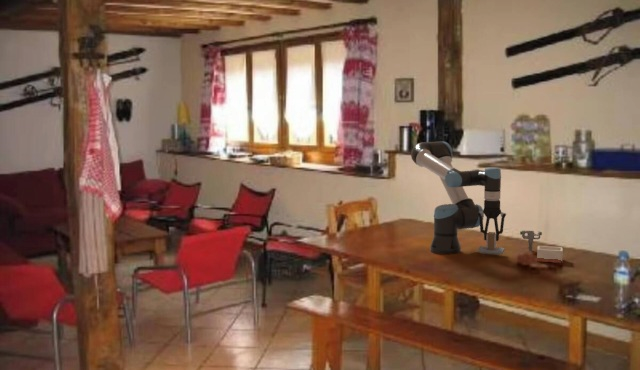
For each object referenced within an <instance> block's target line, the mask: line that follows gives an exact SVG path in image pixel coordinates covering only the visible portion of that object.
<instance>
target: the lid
mask: <svg viewBox="0 0 640 370" xmlns="http://www.w3.org/2000/svg"><path fill="white" fill-rule="evenodd" d="M487 233H488V248H487V247H486V246H482V245H481V246H479V248H478V250H477V253H480V254H487V255H499V256H500V255H503V254H504V252H505V247H497V246H496V248H494V235H495V234H496V231H495V232H494V231H488V232H487Z"/></svg>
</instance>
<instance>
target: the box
mask: <svg viewBox="0 0 640 370" xmlns="http://www.w3.org/2000/svg"><path fill="white" fill-rule="evenodd" d="M536 251H537V252H536V259H537V258H544V259H558V260H561V261H562V262H563V251H564V250H563V247H562V246H561V247H560V246H549V245H548V246H547V245H537V248H536Z"/></svg>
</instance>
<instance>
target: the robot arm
mask: <svg viewBox="0 0 640 370" xmlns="http://www.w3.org/2000/svg"><path fill="white" fill-rule="evenodd" d="M453 152H454V151H453V148H452V146H451V145H450V144H449V143H448V142H446V141H441V140H440V141H439V140H438V141H428V142H427V141H426V142H425V141H424V142H423V141H422V142H419V143H417V144H415V145H414V146H413V147H412V149H411V153H410V157H411V160H412V162H413V163H415V164H416V165H418V166H419V167H421V168H426V169H427V170H429V171H430V172H432V173H434V174H435V175H436V176H438V177H439V178H440V181H441V183H442V184H443V187H444V189H445V192H446V194H447V195H448V198H449V200H450V201H451V203H449V204H448V203H447V204H446V203H444V204H440V205H438V206H436V207H435V208H434V211H433V213H434V214H433V238H432V241H431V243H430V246H429V247H430V252H431V253H434V254H437V255H438V254H440V255H455V254H459V253H461V252H462V251H461V249H462V248H461V243H460V240H459V237H458V230H466V229H475V228H478V227H479V229H480V231H479V232H480V233H482V234H483V236H484V237H483V240H484V241H486V243H485V247H487V248H488V233H489V231H488V229H489V225H490V220H491V219H492V220H493V221H494V222H493V223H494V228H495V229H494V230H495V235H494V248H496V247H497V242H499V240H500V234H503V232H504V225H505V217H506V216H507V213H506V212H503V211H502V210H501V192H502V191H501V188H502V187H501V186H502V184H501V181H502V172H501V169H500V167H494V166H492V167H489V166H488V167H486V168H484V170H483V169H482V170H481V169H471V170H459V169H457V168H455V167H453V165H452V162H453V157H454V154H453ZM474 186H475V187H477V186H482V187H484V189H483V190H484V191H483V192H484V197H483V198H484V200H483V207H482V206H481V205H480V204H475V202H474V200H473V199H472V198H471V197H468V195H467V192H466V191H465V189H464V187H474ZM484 216H485V217H486V221H485V226H484ZM499 216H500V217H501V220H500V228H499V223H498V217H499Z"/></svg>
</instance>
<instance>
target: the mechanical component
mask: <svg viewBox="0 0 640 370" xmlns="http://www.w3.org/2000/svg"><path fill="white" fill-rule="evenodd" d="M519 235H520V236H521V237H522V239H524V240H528V241H527V242H528V251H529V252H533V243H534V240H540V239H541V236H542V235H543V232H542V231H538V233H535V231H534V230H521V231H520V233H519Z"/></svg>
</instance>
